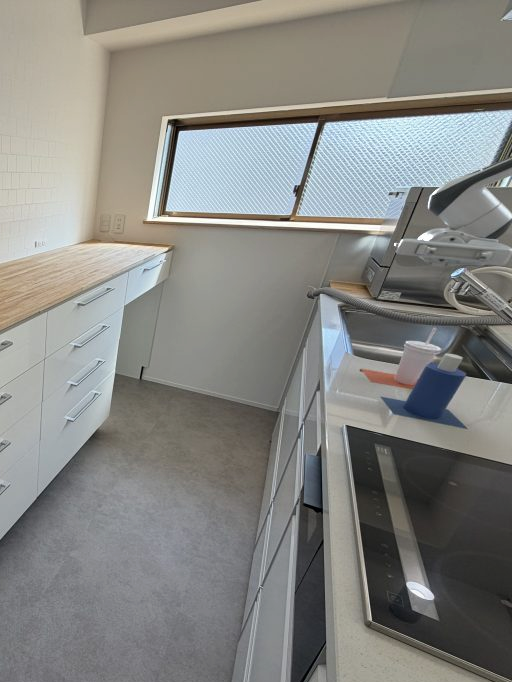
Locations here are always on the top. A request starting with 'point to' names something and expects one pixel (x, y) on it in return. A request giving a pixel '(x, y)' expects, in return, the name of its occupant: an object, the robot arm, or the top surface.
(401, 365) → the smoothie
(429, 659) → the top surface
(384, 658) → the top surface
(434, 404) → the blue bottle
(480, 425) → the top surface
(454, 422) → the blue mat
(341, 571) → the top surface
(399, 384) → the terracotta mat
